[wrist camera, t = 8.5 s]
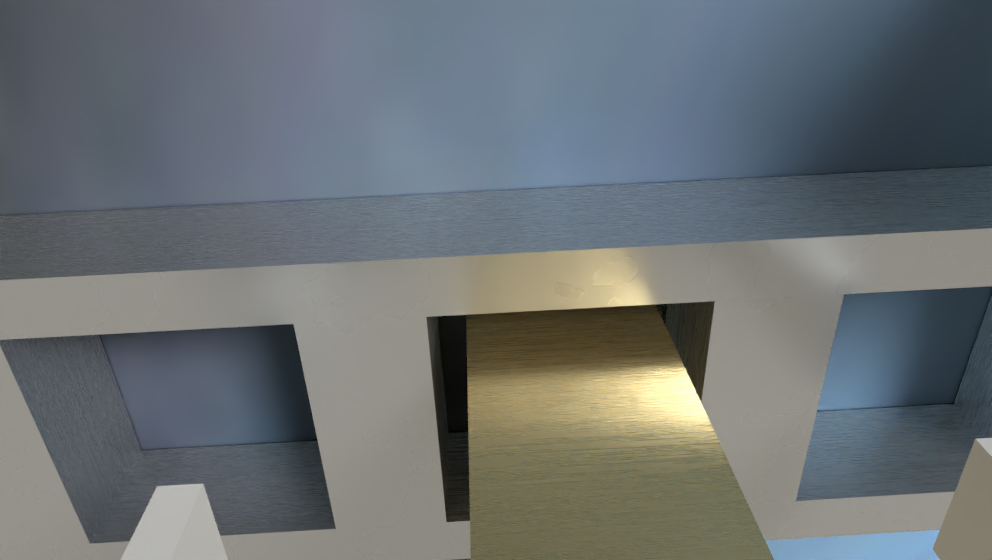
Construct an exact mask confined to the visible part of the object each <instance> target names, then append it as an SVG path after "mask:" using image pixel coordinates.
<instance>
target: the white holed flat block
mask: <svg viewBox="0 0 992 560" xmlns="http://www.w3.org/2000/svg"><path fill="white" fill-rule="evenodd" d="M986 286H992V166H981V167H961V168H941V169H921V170H901V171H882V172H862V173H842V174H822V175H802V176H783V177H763V178H743V179H723V180H704V181H684V182H664V183H644V184H624V185H605V186H585V187H565V188H545V189H525V190H506V191H486V192H466V193H446V194H426V195H407V196H387V197H367V198H347V199H327V200H308V201H288V202H268V203H248V204H228V205H209V206H189V207H169V208H149V209H129V210H110V211H90V212H70V213H50V214H30V215H11V216H0V560H121V558H122V556H123V554H124V552H125V550H126V548H127V546H128V544H129V542H130V540H131V538H132V536H133V534H134V532H135V530H136V528H137V526H138V524H139V522H140V520H141V518H142V516H143V514H144V512H145V509H146V507H147V505H148V503H149V501H150V499H151V497H152V495H153V493H154V491H155V489H156V487H157V486H169V485H186V484H204V488H205V491H206V494H207V497H208V500H209V503H210V506H211V509H212V512H213V515H214V518H215V521H216V524H217V528H218V531H219V534H220V537H221V540H222V543H223V546H224V549H225V552H226V555H227V558H228V560H453V559H469V558H471V553H470V496H469V440H468V432H456V433H448V424H447V413H446V401H445V390H444V379H443V368H442V357H441V345H440V334H439V323H438V316H451V315H469V314H488V313H506V312H524V311H543V310H561V309H580V308H598V307H617V306H635V305H654V304H667V310H666V320H665V326H666V328H667V330H668V332H669V334H670V337H671V339H672V341H673V343H674V345H675V347H676V350H677V352H678V354H679V356H680V358H681V360H682V362H683V365H684V367H685V369H686V371H687V373H688V375H689V378H690V380H691V382H692V384H693V386H694V388H695V391H696V393H697V395H698V397H699V399H700V401H701V403H702V406H703V408H704V410H705V412H706V414H707V416H708V419H709V421H710V423H711V425H712V427H713V429H714V431H715V434H716V436H717V438H718V440H719V442H720V444H721V447H722V449H723V451H724V453H725V455H726V457H727V460H728V462H729V464H730V466H731V468H732V470H733V472H734V475H735V477H736V479H737V481H738V483H739V485H740V488H741V490H742V492H743V494H744V496H745V498H746V501H747V503H748V505H749V507H750V509H751V511H752V513H753V516H754V518H755V520H756V522H757V524H758V526H759V529H760V531H761V533H762V535H763V537H764V539H765V540H779V539H795V538H811V537H828V536H844V535H860V534H876V533H893V532H909V531H925V530H940V529H941V526H942V524H943V521H944V519H945V516H946V513H947V511H948V508H949V506H950V503H951V500H952V498H953V495H954V493H955V490H956V488H957V485H958V482H959V480H960V477H961V475H962V472H963V469H964V467H965V464H966V462H967V459H968V457H969V454H970V451H971V449H972V446H973V444H974V441H975V439H979V438H992V296H991V299H990V302H989V304H988V307H987V310H986V313H985V316H984V319H983V321H982V324H981V327H980V330H979V333H978V336H977V338H976V341H975V344H974V347H973V350H972V353H971V356H970V358H969V361H968V364H967V367H966V370H965V373H964V375H963V378H962V381H961V384H960V387H959V390H958V393H957V395H956V398H955V401H954V404H942V405H925V406H907V407H890V408H873V409H855V410H838V411H820V412H817V408H818V404H819V400H820V396H821V391H822V387H823V383H824V378H825V374H826V370H827V366H828V361H829V357H830V353H831V349H832V344H833V340H834V336H835V332H836V327H837V323H838V319H839V314H840V310H841V306H842V302H843V297H844V294H857V293H875V292H894V291H912V290H931V289H949V288H968V287H986ZM284 324H294V329H295V334H296V339H297V343H298V348H299V353H300V358H301V363H302V368H303V372H304V377H305V382H306V387H307V392H308V397H309V401H310V406H311V411H312V416H313V421H314V426H315V430H316V435H317V441H300V442H283V443H265V444H248V445H230V446H213V447H196V448H178V449H161V450H144V451H142V450H141V448H140V445H139V442H138V439H137V437H136V434H135V431H134V429H133V426H132V423H131V420H130V418H129V415H128V412H127V410H126V407H125V404H124V401H123V399H122V396H121V393H120V391H119V388H118V385H117V382H116V380H115V377H114V374H113V372H112V369H111V366H110V363H109V361H108V358H107V355H106V353H105V350H104V347H103V344H102V342H101V339H100V336H99V335H100V334H118V333H137V332H155V331H174V330H192V329H210V328H229V327H247V326H266V325H284Z"/></svg>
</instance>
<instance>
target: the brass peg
mask: <svg viewBox="0 0 992 560" xmlns="http://www.w3.org/2000/svg"><path fill="white" fill-rule="evenodd" d="M466 327H467V383H468V440H469V496H470V553H471V560H774V559H773V557H772V554H771V552H770V550H769V548H768V546H767V544H766V542H765V539H764V537H763V535H762V533H761V531H760V529H759V526H758V524H757V522H756V520H755V518H754V516H753V513H752V511H751V509H750V507H749V505H748V503H747V501H746V498H745V496H744V494H743V492H742V490H741V488H740V485H739V483H738V481H737V479H736V477H735V475H734V472H733V470H732V468H731V466H730V464H729V462H728V460H727V457H726V455H725V453H724V451H723V449H722V447H721V444H720V442H719V440H718V438H717V436H716V434H715V431H714V429H713V427H712V425H711V423H710V421H709V419H708V416H707V414H706V412H705V410H704V408H703V406H702V403H701V401H700V399H699V397H698V395H697V393H696V391H695V388H694V386H693V384H692V382H691V380H690V378H689V375H688V373H687V371H686V369H685V367H684V365H683V362H682V360H681V358H680V356H679V354H678V352H677V350H676V347H675V345H674V343H673V341H672V339H671V337H670V334H669V332H668V330H667V328H666V326H665V324H664V321H663V319H662V317H661V315H660V313H659V311H658V309H657V306H656V304H654V305H635V306H617V307H598V308H580V309H561V310H543V311H524V312H506V313H488V314H469V315H466Z"/></svg>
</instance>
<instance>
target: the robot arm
mask: <svg viewBox="0 0 992 560" xmlns="http://www.w3.org/2000/svg"><path fill="white" fill-rule="evenodd" d="M933 550H934V551H935V553H936V554H937V556H938V557H939V559H940V560H992V438H979V439H975V441H974V444H973V446H972V449H971V451H970V454H969V457H968V459H967V462H966V464H965V467H964V469H963V472H962V475H961V477H960V480H959V482H958V485H957V488H956V490H955V493H954V495H953V498H952V500H951V503H950V506H949V508H948V511H947V513H946V516H945V519H944V521H943V524H942V526H941V529H940V531H939V534H938V537H937V539H936V542H935V544H934V547H933ZM121 560H228V558H227V555H226V552H225V549H224V546H223V543H222V540H221V537H220V534H219V531H218V528H217V524H216V521H215V518H214V515H213V512H212V509H211V506H210V503H209V500H208V497H207V494H206V491H205V488H204V484H186V485H169V486H157V487H156V489H155V491H154V493H153V495H152V497H151V499H150V501H149V503H148V505H147V507H146V509H145V512H144V514H143V516H142V518H141V520H140V522H139V524H138V526H137V528H136V530H135V532H134V534H133V536H132V538H131V540H130V542H129V544H128V546H127V548H126V550H125V552H124V554H123V556H122V558H121Z"/></svg>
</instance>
